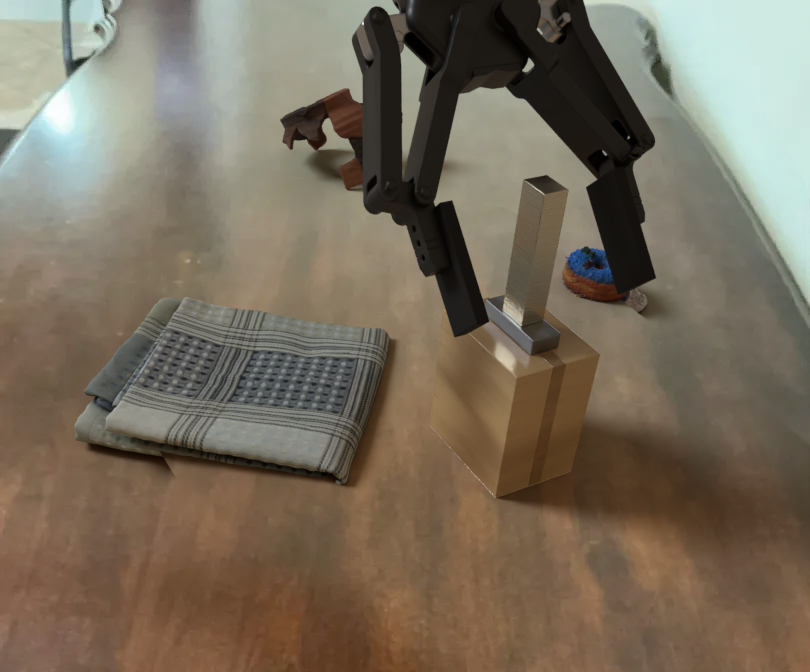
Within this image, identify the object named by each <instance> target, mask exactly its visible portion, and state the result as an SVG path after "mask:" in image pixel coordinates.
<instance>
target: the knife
mask: <svg viewBox="0 0 810 672" xmlns="http://www.w3.org/2000/svg"><path fill="white" fill-rule="evenodd" d="M569 192H570V191H569V189H568V188H567V187H565V186H564V185H562V184H561V183H560V182H558V180H557V181H556V180H555V179H554V178H553V177H551V176H550V175H548V174H544V175H539V176H538V175H537V176H534V177H528V178H524V179H523V180H522V185H521V190H520V198H519V205H518V212H517V217H516V221H515V229H514V234H513V235H514V236H513V241H512V247H511V255H510V260H509V265H508V266H509V268H508V272H507V273H508V274H507V279H506V286H505V292H504V294H505V295H501V294H500V295H501V296H497V295H496V296H497V297H493V296H492V297H493V298H489V299H486V302H485V308H486V311H487V315H488V317H489V318H490V319H491V320H492V321H493V322H494V323H495V324H496V325H498V326H499V327H500V328H501V329H502V330H503V331H504V332H505V333H506V334H508V335H509V336H510V337H511V338H512V339H513V340H514V341H515V342H517V343H518V344H519V345H520V346H521V347H522V348H523V349H524V350H525V351H527V352H528V353H529V354H530V355H534V354H537V353H541V352H544V351H548V350H551V349H555V348H558V345H559V340H560V335H561V334H560V333H559V332H558V331H557V330H556V329H555V328H554V327H552V326H551V325H550V324H549V323H548V322H546V321H545V320H544V315H545V309H547V304H548V299H549V294H550V289H551V284H552V277H553V273H554V267H555V262H556V257H557V253H558V248H559V242H560V237H561V231H562V227H563V222H564V216H565V212H566V207H567V200H568V195H569Z"/></svg>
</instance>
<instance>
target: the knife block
mask: <svg viewBox="0 0 810 672" xmlns="http://www.w3.org/2000/svg"><path fill="white" fill-rule="evenodd" d="M501 295H505V293H501V294H496V295H493V296H490V297H483V302H484V305H485V302H486V299H489V298H493V297H497V296H501ZM488 318H489V317H488ZM544 320H545V321H546V322H548V323H549V324H550V325H551V326H552V327H554V328H555V329H556V330H557V331H558V332H559V333H560V334H561V335H560V340H559V345H558V348H555V349H551V350H548V351H544V352H541V353H537V354H534V355H530V354H529V353H528V352H527V351H525V350H524V349H523V348H522V347H521V346H520V345H519V344H518V343H517V342H515V341H514V340H513V339H512V338H511V337H510V336H509V335H508V334H506V333H505V332H504V331H503V330H502V329H501V328H500V327H499V326H498V325H496V324H495V323H494V322H493V321H492V320H491V319H490V318H489V321H490V322H488V323H486V324H484V325H483V326H481V327H479V328H477V329H475V330H473V331H472V332H470V333H468V334H466V335H463V336H459V337H455V338H454V335H453V332H452V329H451V325H450V322H449V319H448V316H447V312H446V309H445V307H444V308H442V312H441V321H440V330H439V340H438V348H437V349H438V350H437V359H436V368H435V374H434V375H435V377H434V386H433V394H432V403H431V412H430V420H429V421H430V422H429V428H430V429H431V431H433V432H434V433H435V435H436V436H438V438H439V439H440V440H441V441H442V442H444V444H445V446H447V447H448V448H449V450H450V451H451V452H452V453H453V454H454V455H455V456H456V458H458V459H459V460H460V462H462V464H463V465H464V466H465V467H466V468H467V469H468V470H469V471H470V472H471V474H472V475H473V476H474V477H475V478H476V479H477V481H479V482H480V484H482V485H483V487H484V488H485V489H486V490H487V491H488V493H489V494H491V495H492V497H494V498H495V499H497V498H500V497H503V496H506V495H509V494H512V493H515V492H517V491H520V490H523V489H526V488H528V487H531V486H534V485H538V484H540V483H543V482H546V481H549V480H551V479H554V478H557V477H560V476H563V475H566V474H569V473H571V472H572V470H573V466H574V462H575V458H576V453H577V449H578V445H579V441H580V439H581V438H580V437H581V434H582V433H581V432H582V429H583V425H584V421H585V417H586V413H587V409H588V406H589V401H590V396H591V393H592V388H593V384H594V381H595V377H596V373H597V368H598V365H599V361H600V356H601V353H600V352H599V351H598V350H597V349H596V348H594V347H593V346H592V345H590V344H589V342H587V341H586V340H585V339H584V338H582V337H581V336H580V335H578V333H576V332H575V331H574V330H573V329H571V328H570V327H569V326H568V325H566V324H565V323H564V321H562V320H560V319H559V317H557V316H556V315H554V314H553V313H552V312H551V311H550V310H548V309H547V308H546V309H545V315H544Z"/></svg>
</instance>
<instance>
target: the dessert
mask: <svg viewBox="0 0 810 672" xmlns="http://www.w3.org/2000/svg"><path fill="white" fill-rule="evenodd" d="M565 259H566V261H565V263H564V266H563V268H562V272H561V275H562V276H561V277H562V278H561V280H563V281H564V282H563V285H564V287H565V289H566V290H567V291H569V293H572V294H573V295H574V297H577V298H583V299H586V300H590V301H593V302H600V303H610V304H611V303H616V302H619V301H622V302H623V303H624V304H626V305H627V306H628V307H630V308H631V309H632V310H633V311H635V312H636V313H637V314H638V313H640V312H641V311H643V310H644V308H646V306H647V305H648V298H647V296H646V295H645V293H643V292H640V291H639V290H638V289H637V288H635V289H633V290H631V291H628V292H625V293H622V294H617V291H616V288H615V284H614V281H613V277H612V274H611V271H610V267H609V264H608V261H607V257H606V254H605V250H604V249H599V248H595V247H589V246H588V245H585V246H583V247H582V248H577V249H575V250H574V251H572V252H570V254H569V256H565Z"/></svg>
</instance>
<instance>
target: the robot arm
mask: <svg viewBox="0 0 810 672" xmlns="http://www.w3.org/2000/svg"><path fill="white" fill-rule="evenodd" d="M391 1H392V3H393V5H394V6H395V8H396V9H397V10H398V11H399V12H398V13H394V14H393V13H392V14H389V12H388V11H387V10H386V9H385V8H384V7H382V6H378V5H376V6H372V7H371V8H370V9H369V10H368V11H367V13H366V14H365V16H364V17H363V19H362V20H361V23H360V24H359V25H358V26H357V29H356V30H355V32H354V33H353V34H352V37H351V44H352V48H353V51H354V55H355V56H356V60H357V63H358V66H359V68H360V72H361V76H362V103H363V183H362V203H363V208H364V209H365V211H367V212H368V214H371V215H374V216H375V215H376V216H377V215H379V214H381V213H384V214H390V216H391V219H392V221H393V222H394V223H395V224H396V225H397V226H400V227H404V226H406V229H407V233H408V236H409V239H410V243H411V246H412V249H413V251H414V256H415V257H416V261H417V264H418V265H417V266H418V268H419V270H420V271H421V273H422V274H423V276H424V277H425V278H429V277H435V280H436V283H437V287H438V290H439V293H440V296H441V299H442V303H443V306H444V308H445V309H446V312H447V316H448V319H449V322H450V325H451V329H452V332H453V335H454V338H455V337H459V336H463V335H466V334H468V333H470V332H472V331H473V330H475V329H477V328H479V327H481V326H483V325H484V324H486V323H488V322H490V321H489V318H488V315H487V311H486V308H485V305H484V302H483V299H484V297H483V296H482V295H483V294H482V293H481V292H482V291H481V289H480V286H479V283H478V280H477V276H476V273H475V270H474V266H473V263H472V260H471V256H470V253H469V250H468V246H467V244H466V240H465V236H464V234H463V230H462V227H461V224H460V219H459V217H458V213H457V210H456V207H455V203H454V201H453V200H446V201H441V202H439V203H438V204H435V200H436V197H437V194H438V189H439V186H440V181H441V176H442V171H443V167H444V163H445V159H446V158H445V157H446V154H447V149H448V145H449V141H450V137H451V131H452V127H453V122H454V118H455V114H456V111H457V105H458V100H459V96H460V95H462V94H469V93H471V92H473V91H475V90H478V89H479V88H483V89H489V90H497V89H502V88H503V89H504V88H506V89H507V90H508V92H509V93H511V95H512V96H513V97H515V98H516V99H519V100H525V101H526V102H527V103H528V105H529V106H530V107H531V108H532V109H533V110H534V111H535V112H536V113H537V115H539V117H540V118H541V119H542V121H544V122H545V123H546V125H548V127H549V128H550V129H551V130H552V131H553V132H554V134H556V136H558V138H559V139H560V140H561V141H562V142H563V143H564V144H565V146H566V147H567V148H568V149H569V150H570V151H571V152H572V153H573V154H574V155H575V157H576V158H577V159H578V160H579V161H580V162H581V164H583V166H584V167H585V168H586V169H587V170H588V171H589V172H590V173H591V174H592V176H593V177H595V179H596V180H595V181H593V182H591V183H590V184H588V185H587V186H585V190H586V192H587V196H588V199H589V204H590V207H591V210H592V213H593V216H594V220H595V224H596V227H597V230H598V232H599V237H600V240H601V244H602V247H603V250H604V251H605V254H606V257H607V261H608V264H609V267H610V271H611V274H612V277H613V281H614V284H615V288H616V291H617V294H622V293H625V292H628V291H631V290H633V289H635V288H636V289H637V288H639V287H641V286H643V285H645V284H648V283H649V282H652V281H653V280H657V276H656V273H655V269H654V266H653V262H652V258H651V254H650V252H649V249H648V244H647V242H646V238H645V235H644V232H643V227H642V224H644V223H645V222H646V211H645V207H644V204H643V201H642V197H641V193H640V189H639V187H638V184H637V181H636V176H635V174H634V173H635V172H634V164H635V163H636V162H637V161H638V160H640V159H641V158H642V157H643V155H645V154H646V153H647V152H649V151H650V150H652V149H653V148H654V147H655V144H656V138H655V135H654V133H653V130H651V128H650V126H649V124H648V122H647V121H646V118H644V116H643V114H642V112H641V110H640V109H639V107H638V105H637V104H636V102H635V100H634V99H633V97H632V95H631V93H630V92H629V90H628V88H627V87H626V85H625V83H624V81H623V80H622V78H621V76H620V75H619V73H618V71H617V69H616V67H615V65H614V64H613V63H612V61H611V59H610V57H609V55H608V54H607V52H606V51H605V49H604V47H603V46H602V44H601V42H600V40H599V39H598V37H597V34H596V33H595V32H594V30H593V28H592V26H591V23H590V19H589V16H588V12H587V8H586V5H585V2H584V1H585V0H391ZM538 29H539V30H540V31H539V30H538ZM541 33H542V34H541ZM405 47H406V48H407V49H408V50H409V51H410V52H411V53H412V54H413V55H414V56H415V57H417V59H419V61H421V63H423V64H424V65H425V70H424V74H423V78H422V83H421V87H420V91H419V95H418V102H419V103H420V104H419V107H418V112H417V116H416V121H415V126H414V129H413V133H412V137H411V141H410V146H409V151H408V155H407V159H406V163H405V168H404V172H403V122H402V119H403V116H402V113H403V109H402V108H403V94H402V93H403V92H402V91H403V88H402V86H403V84H402V79H403V78H402V77H403V76H402V55H401V54H402V53H403V51H404V48H405ZM529 59H530V61H531V62H532V64H533V66H532V67H531V68H530V69H529V70H528V71H524V69H525V68H526V66H527V64H528V62H529Z"/></svg>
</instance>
